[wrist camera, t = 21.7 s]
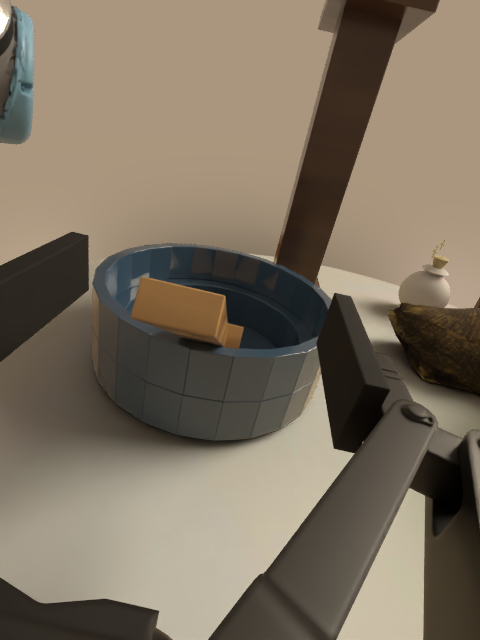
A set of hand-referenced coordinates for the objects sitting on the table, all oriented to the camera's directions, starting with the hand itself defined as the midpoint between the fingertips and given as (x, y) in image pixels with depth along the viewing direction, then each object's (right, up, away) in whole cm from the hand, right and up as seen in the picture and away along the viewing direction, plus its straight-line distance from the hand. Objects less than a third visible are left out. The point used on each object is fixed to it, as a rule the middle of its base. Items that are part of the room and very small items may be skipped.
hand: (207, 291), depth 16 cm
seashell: (+24, -7, +20) cm, 32 cm away
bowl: (-1, -5, +13) cm, 14 cm away
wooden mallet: (-1, -3, +4) cm, 4 cm away
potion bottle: (+25, 0, +33) cm, 41 cm away
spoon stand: (+7, +2, +29) cm, 30 cm away
